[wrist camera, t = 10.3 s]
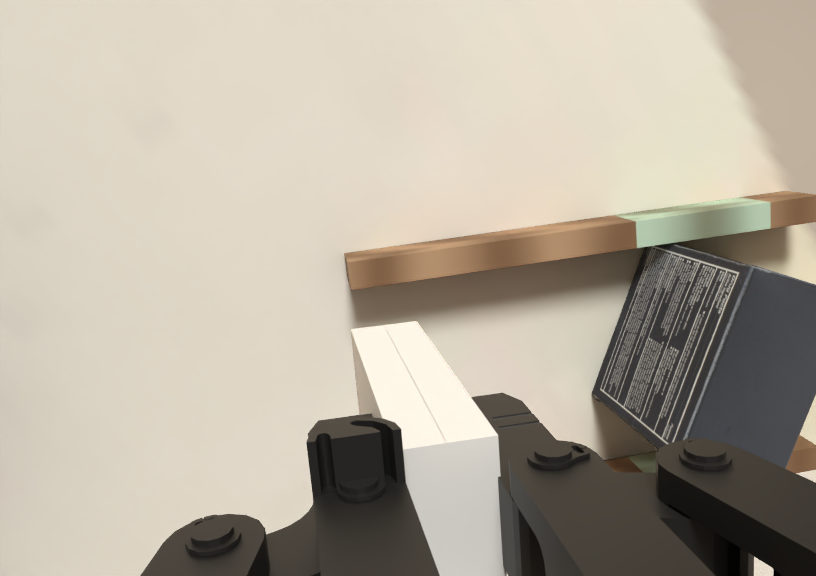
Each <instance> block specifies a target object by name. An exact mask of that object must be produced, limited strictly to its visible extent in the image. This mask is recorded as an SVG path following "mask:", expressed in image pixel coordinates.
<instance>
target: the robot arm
mask: <svg viewBox="0 0 816 576" xmlns="http://www.w3.org/2000/svg"><path fill="white" fill-rule="evenodd" d="M351 336H352V346H353V356H354V366H355V375H356V385H357V395H358V405H359V414H360V415H356V416H349V417H342V418H335V419H328V420H321V421H318V422H317V423H316V424H315V426H314V427H313V428H312V429H311V430H310V432H309V433H308V440H307V450H308V459H309V467H310V475H311V484H312V492H313V501H314V502H313V505H312V507H311V509H310V510H309V512H308V513H307V514H306V515H304V516H303V517H302V518H301V519H300V520H298V521H296V522H295V523H293V524H291V525H290V526H288V527H285V528H283V529H280V530H278V531H275V532H273V533H270V534H267V535H266V532H265V528H264V527H263V525H262V524H261V523H260V521H259V520H257V519H254V518H252V517H249V516H247V515H235V514H226V515H219V516H218V515H211V516H207V517H204V519H202V518H200V519H197V520H195V521H193V522H191V523H190V524H188V525H186V526H184V527H182V528H181V529H179V530H177V531H175V532H174V533H173V534H172V535H171V536H170V537H169V538H168V539H167V540H166V541H165V542H164V543H163V544H162V546H161V547H160V548H159V550H158V551H157V553H156V554H155V556H154V557H153V559H152V560H151V561H150V563H149V564H148V566H147V567H146V569H145V570H144V571H143V573H142V574H141V576H507V575H506V572H507V573H508V575H509V576H754V556H755V557H756V558H758V559H759V560H761V561H763V562H764V563H766V564H768V565H769V566H771V567H772V568H773V569H774V576H816V483H815V482H813V481H811V480H808V479H806V478H804V477H802V476H800V475H798V474H795V473H793V472H791V471H789V470H787V469H785V468H782V467H780V466H778V465H776V464H774V463H771V462H769V461H767V460H765V459H763V458H761V457H758V456H756V455H754V454H752V453H750V452H748V451H745V450H743V449H741V448H738V447H736V446H733V445H730V444H727V443H723V442H717V441H712V440H710V439H707V438H698V440H696V438H687V439H684V440H682V441H677V442H671V443H669V444H667V445H665V446H663V447H661V448H660V449H659V450H658V452H657V453H656V455H655V457H656V473H629V472H614V471H613V470H612V469H611V468H610V467H609V466H608V464H607V463H606V462H605V461H604V460H603V459H602V458H601V457H600V456H599V455H598V454H597V453H596V452H594V451H593V450H591V449H590V448H588V447H587V446H584V445H581V444H577V443H574V442H568V441H558V440H556V439H555V438H554V437H553V436H552V435H551V433H550V432H549V431H548V430H547V429H546V428H545V427H544V426H543V424H542V423H539V420H538V419H537V418H536V417H535V415H534V414H531V411H530V410H529V409H528V408H527V406H526V405H525V404H524V403H523V402H522V401H521V400H518V399H516V398H514V397H511V396H509V395H506V394H504V393H498V394H491V395H484V396H477V397H470V395H469V394H468V392H467V391H466V390H465V388H464V387H463V385H462V384H461V383H460V381H459V380H458V378H457V377H456V376H455V374H454V373H453V371H452V370H451V369H450V367H449V366H448V364H447V363H446V362H445V360H444V359H443V357H442V356H441V355H440V353H439V352H438V350H437V349H436V347H435V346H434V345H433V343H432V342H431V340H430V339H429V338H428V336H427V335H426V333H425V332H424V331H423V329H422V328H421V326H420V325H419V324H418V322H417V321H413V322H405V323H397V324H389V325H381V326H372V327H364V328H356V329H351Z"/></svg>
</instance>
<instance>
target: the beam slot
mask: <svg viewBox="0 0 816 576" xmlns="http://www.w3.org/2000/svg"><path fill="white" fill-rule="evenodd" d="M811 222H816V195H814V194H805V193H798V192H790V191H783V192H776V193H768V194H761V195H754V196H747V197H740V198H733V199H726V200H719V201H712V202H705V203H698V204H691V205H683V206H676V207H669V208H662V209H655V210H648V211H641V212H634V213H627V214H620V215H613V216H606V217H599V218H591V219H584V220H577V221H570V222H563V223H556V224H549V225H542V226H535V227H528V228H521V229H514V230H506V231H499V232H492V233H485V234H478V235H471V236H464V237H457V238H450V239H443V240H436V241H429V242H422V243H414V244H407V245H400V246H393V247H386V248H379V249H372V250H365V251H358V252H351V253H344V254H345V262H346V269H347V276H348V281H349V284H350V287H351V290H355V289H362V288H369V287H376V286H383V285H389V284H396V283H403V282H410V281H417V280H423V279H430V278H437V277H444V276H451V275H457V274H464V273H471V272H478V271H485V270H492V269H498V268H505V267H512V266H519V265H526V264H532V263H539V262H546V261H553V260H560V259H566V258H573V257H580V256H587V255H594V254H600V253H607V252H614V251H621V250H628V249H634V248H641V247H648V246H655V245H662V244H668V243H675V242H682V241H689V240H696V239H702V238H709V237H716V236H723V235H730V234H736V233H743V232H750V231H757V230H764V229H770V228H777V227H784V226H791V225H798V224H804V223H811ZM657 452H658V451H656V452H650V453H645V454H639V455H634V456H628V457H623V458H617V459H611V460H606V461H605V462H606V463H607V464H608V466H609V467H610V468H611V469H612V470H613V471H614V472H629V473H656V457H655V455H656V453H657ZM786 469H787V470H789V471H791V472H793V473H800V472H805V471H810V470H816V445H815V444H813V443H812V442H810V441H808V440H807V439H805V438H803V437H802V436H800V435H799V436H798V439H797V441H796V444H795V446H794V449H793V451H792V454H791V457H790V459H789V461H788V464H787V466H786Z"/></svg>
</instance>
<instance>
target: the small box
mask: <svg viewBox="0 0 816 576" xmlns="http://www.w3.org/2000/svg"><path fill="white" fill-rule="evenodd" d="M592 393H593V395H594V397H595V399H596V400H598V401H600V402H603V403H604V404H605V405H606V406H607V407H609V408H610V409H611V410H612V411H613V412H615V413H616V414H617V415H618V416H619V417H620V418H622V419H623V420H624V421H625V422H626V423H628V424H629V425H630V426H631V427H632V428H634V429H635V430H636V431H637V432H639V433H640V434H641V435H642V436H643V437H645V438H646V439H647V440H648V441H649V442H651V443H652V444H653V445H654V446H655V447H657V448H658V449H660V448H661V447H663V446H665V445H667V444H669V443H671V442H677V441H682V440H684V439H687V438H696V440H698V438H707V439H710V440H712V441H717V442H723V443H727V444H730V445H733V446H736V447H738V448H741V449H743V450H745V451H748V452H750V453H752V454H754V455H756V456H758V457H761V458H763V459H765V460H767V461H769V462H771V463H774V464H776V465H778V466H780V467H782V468H785V469H786V466H787V464H788V461H789V459H790V457H791V454H792V451H793V449H794V446H795V444H796V441H797V439H798V436H799V434H800V432H801V429H802V427H803V424H804V422H805V419H806V417H807V414H808V412H809V410H810V407H811V405H812V402H813V400H814V397H815V395H816V285H815V284H812V283H808V282H805V281H802V280H798V279H796V278H792V277H789V276H786V275H783V274H779V273H776V272H773V271H770V270H766V269H763V268H761V267H757V266H753V265H747V264H743V263H740V262H737V261H733V260H729V259H726V258H723V257H719V256H716V255H712V254H708V253H705V252H701V251H698V250H695V249H692V248H688V247H685V246H682V245H679V244H676V243H668V244H662V245H655V246H648V247H645V250H644V252H643V255H642V257H641V260H640V263H639V266H638V268H637V271H636V274H635V276H634V279H633V282H632V285H631V287H630V290H629V293H628V296H627V298H626V301H625V304H624V306H623V309H622V312H621V315H620V318H619V320H618V323H617V325H616V328H615V331H614V334H613V336H612V339H611V342H610V345H609V347H608V350H607V353H606V356H605V358H604V361H603V364H602V366H601V369H600V372H599V375H598V378H597V381H596V384H595V386H594V389H593V391H592Z"/></svg>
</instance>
